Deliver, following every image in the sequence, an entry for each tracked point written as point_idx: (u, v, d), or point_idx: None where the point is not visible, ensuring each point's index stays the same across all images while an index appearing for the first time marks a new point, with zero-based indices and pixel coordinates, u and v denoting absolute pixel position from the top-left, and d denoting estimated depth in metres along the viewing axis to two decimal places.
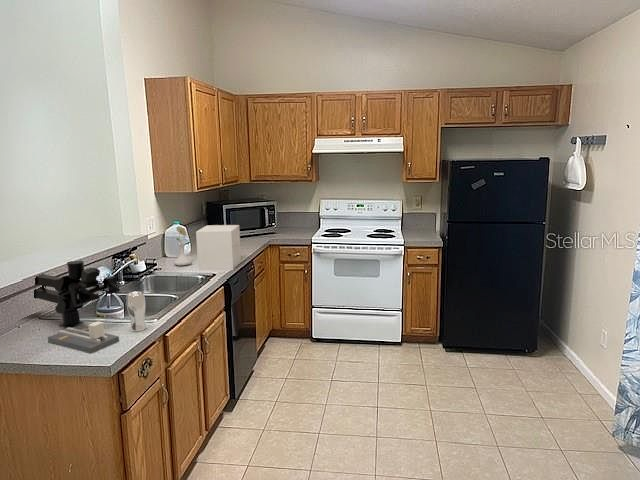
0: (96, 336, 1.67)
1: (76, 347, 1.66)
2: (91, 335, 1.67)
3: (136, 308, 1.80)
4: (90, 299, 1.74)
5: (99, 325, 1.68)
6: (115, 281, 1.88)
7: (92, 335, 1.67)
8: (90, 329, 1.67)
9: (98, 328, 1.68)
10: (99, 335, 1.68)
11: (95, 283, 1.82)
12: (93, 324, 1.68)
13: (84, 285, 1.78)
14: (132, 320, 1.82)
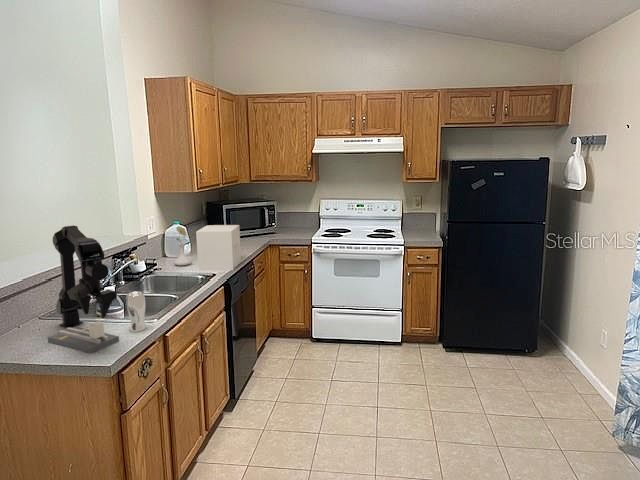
0: (96, 336, 1.67)
1: (76, 347, 1.66)
2: (91, 335, 1.67)
3: (136, 308, 1.80)
4: None
5: (99, 325, 1.68)
6: (107, 300, 1.62)
7: (92, 335, 1.67)
8: (90, 329, 1.67)
9: (98, 328, 1.68)
10: (99, 335, 1.68)
11: None
12: (93, 324, 1.68)
13: None
14: (132, 320, 1.82)
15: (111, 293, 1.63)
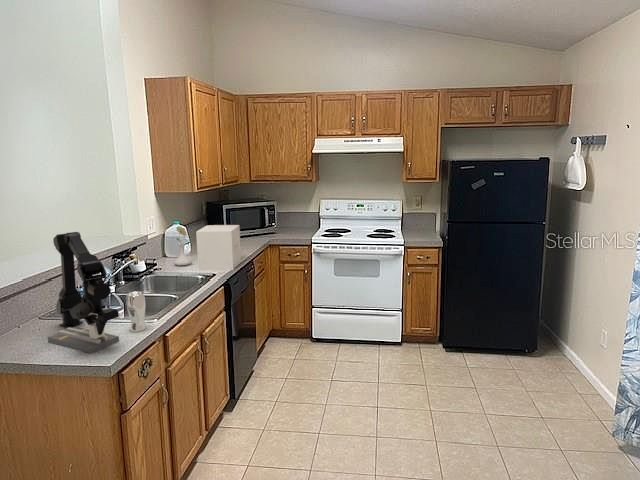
0: (96, 336, 1.67)
1: (76, 347, 1.66)
2: (91, 335, 1.67)
3: (136, 308, 1.80)
4: None
5: None
6: (109, 319, 1.63)
7: (92, 335, 1.67)
8: (90, 329, 1.67)
9: None
10: (99, 335, 1.68)
11: None
12: (93, 324, 1.68)
13: None
14: (132, 320, 1.82)
15: (113, 312, 1.64)
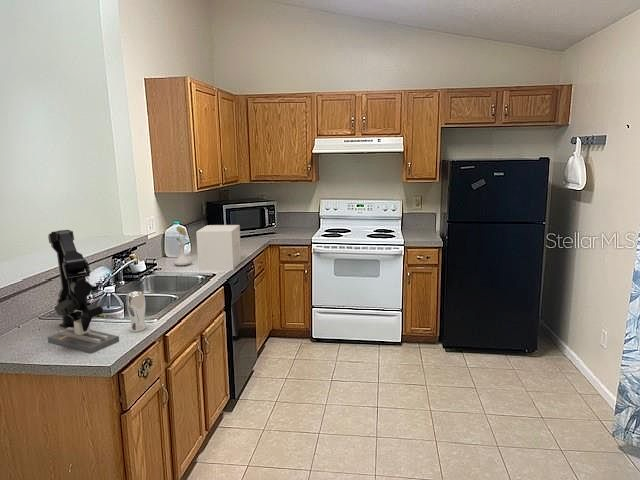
0: (81, 332, 1.71)
1: (76, 347, 1.66)
2: (76, 331, 1.71)
3: (136, 308, 1.80)
4: None
5: None
6: None
7: (77, 331, 1.71)
8: (75, 326, 1.71)
9: None
10: None
11: None
12: (78, 321, 1.71)
13: None
14: (132, 320, 1.82)
15: (97, 309, 1.67)
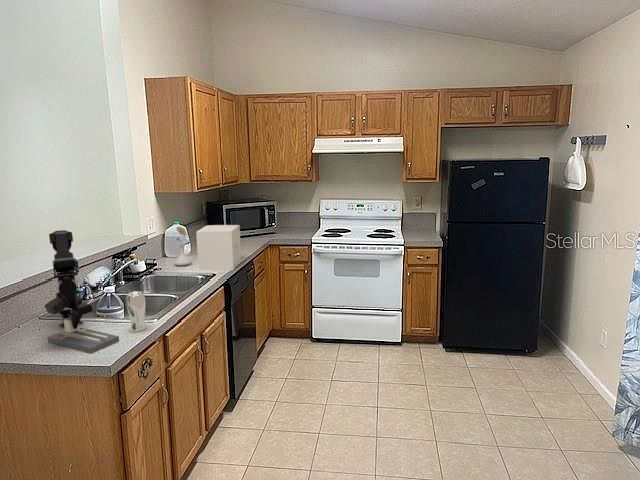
0: (71, 330, 1.73)
1: (76, 347, 1.66)
2: (66, 329, 1.73)
3: (136, 308, 1.80)
4: None
5: None
6: None
7: (67, 329, 1.73)
8: (65, 323, 1.73)
9: None
10: (74, 329, 1.74)
11: None
12: (68, 318, 1.74)
13: None
14: (132, 320, 1.82)
15: (87, 307, 1.70)
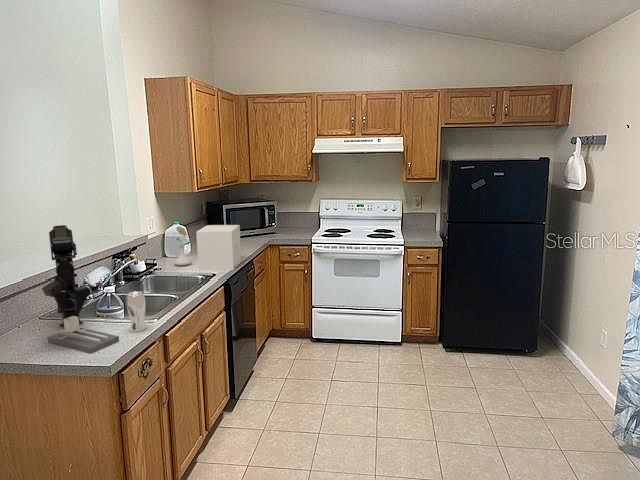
0: (71, 330, 1.73)
1: (76, 347, 1.66)
2: (66, 329, 1.73)
3: (136, 308, 1.80)
4: None
5: (74, 320, 1.74)
6: (81, 297, 1.67)
7: (67, 329, 1.73)
8: (65, 323, 1.73)
9: (73, 322, 1.74)
10: (74, 329, 1.74)
11: None
12: (68, 318, 1.74)
13: None
14: (132, 320, 1.82)
15: (85, 290, 1.69)
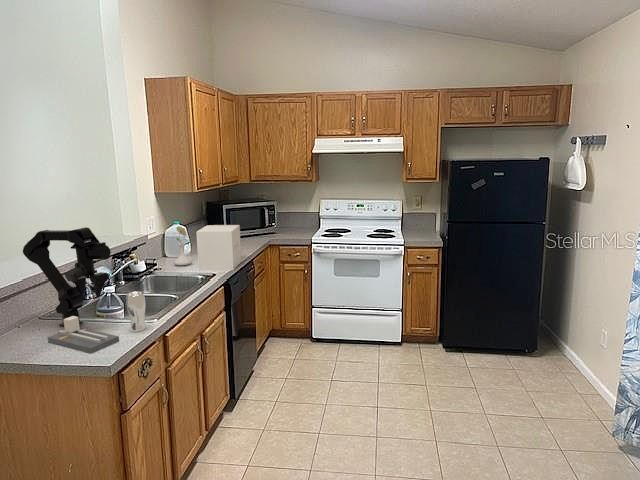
0: (71, 330, 1.73)
1: (76, 347, 1.66)
2: (66, 329, 1.73)
3: (136, 308, 1.80)
4: None
5: (74, 320, 1.74)
6: (100, 281, 1.80)
7: (67, 329, 1.73)
8: (65, 323, 1.73)
9: (73, 322, 1.74)
10: (74, 329, 1.74)
11: None
12: (68, 318, 1.74)
13: None
14: (132, 320, 1.82)
15: (104, 275, 1.81)
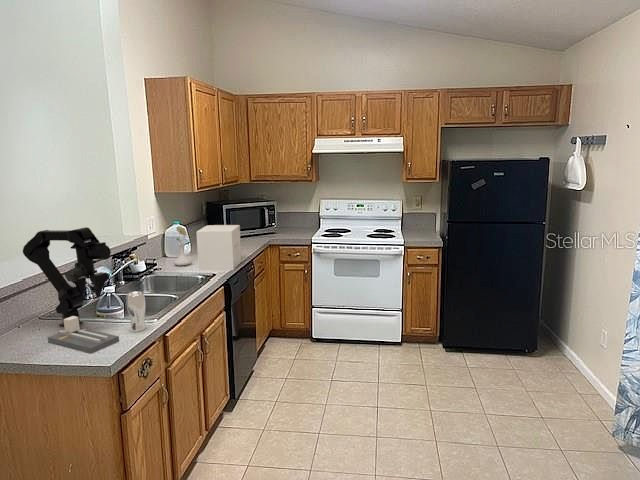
0: (71, 330, 1.73)
1: (76, 347, 1.66)
2: (66, 329, 1.73)
3: (136, 308, 1.80)
4: None
5: (74, 320, 1.74)
6: (100, 281, 1.80)
7: (67, 329, 1.73)
8: (65, 323, 1.73)
9: (73, 322, 1.74)
10: (74, 329, 1.74)
11: None
12: (68, 318, 1.74)
13: None
14: (132, 320, 1.82)
15: (104, 274, 1.81)
